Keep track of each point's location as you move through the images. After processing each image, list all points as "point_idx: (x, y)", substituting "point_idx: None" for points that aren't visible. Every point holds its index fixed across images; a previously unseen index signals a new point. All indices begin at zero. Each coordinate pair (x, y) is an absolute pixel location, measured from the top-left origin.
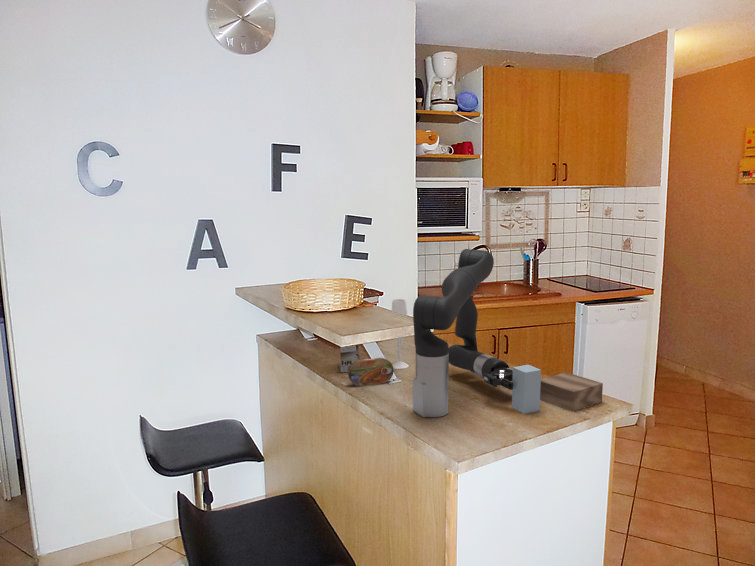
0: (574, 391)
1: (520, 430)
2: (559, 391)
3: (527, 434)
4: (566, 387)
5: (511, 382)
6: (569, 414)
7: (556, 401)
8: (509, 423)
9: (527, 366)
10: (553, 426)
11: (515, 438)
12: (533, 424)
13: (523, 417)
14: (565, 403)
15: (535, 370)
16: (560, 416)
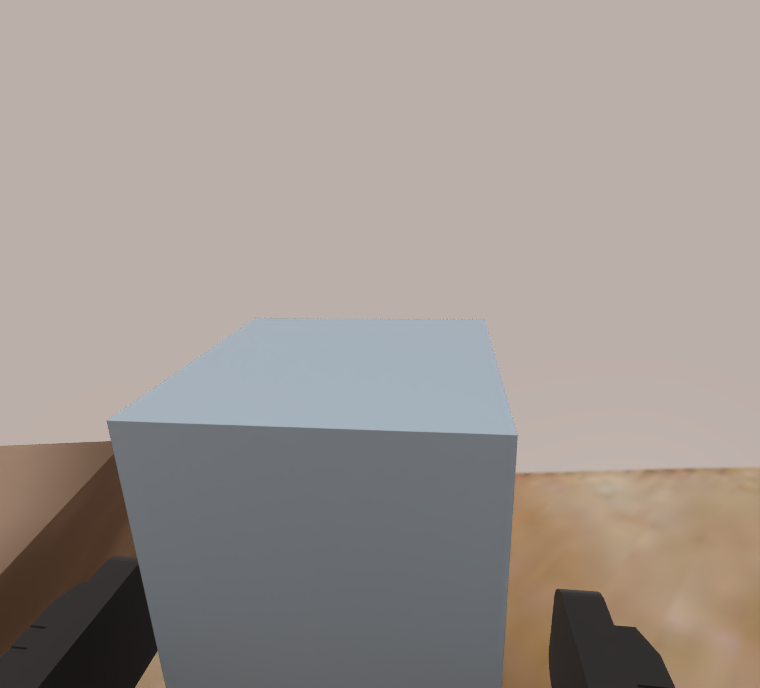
0: (106, 445)
1: (641, 528)
2: (57, 556)
3: (620, 491)
4: (25, 499)
5: (581, 596)
6: None
7: None
8: (687, 621)
9: (240, 385)
10: None
11: (704, 488)
12: (520, 545)
13: (520, 647)
14: None
15: (322, 321)
16: None
